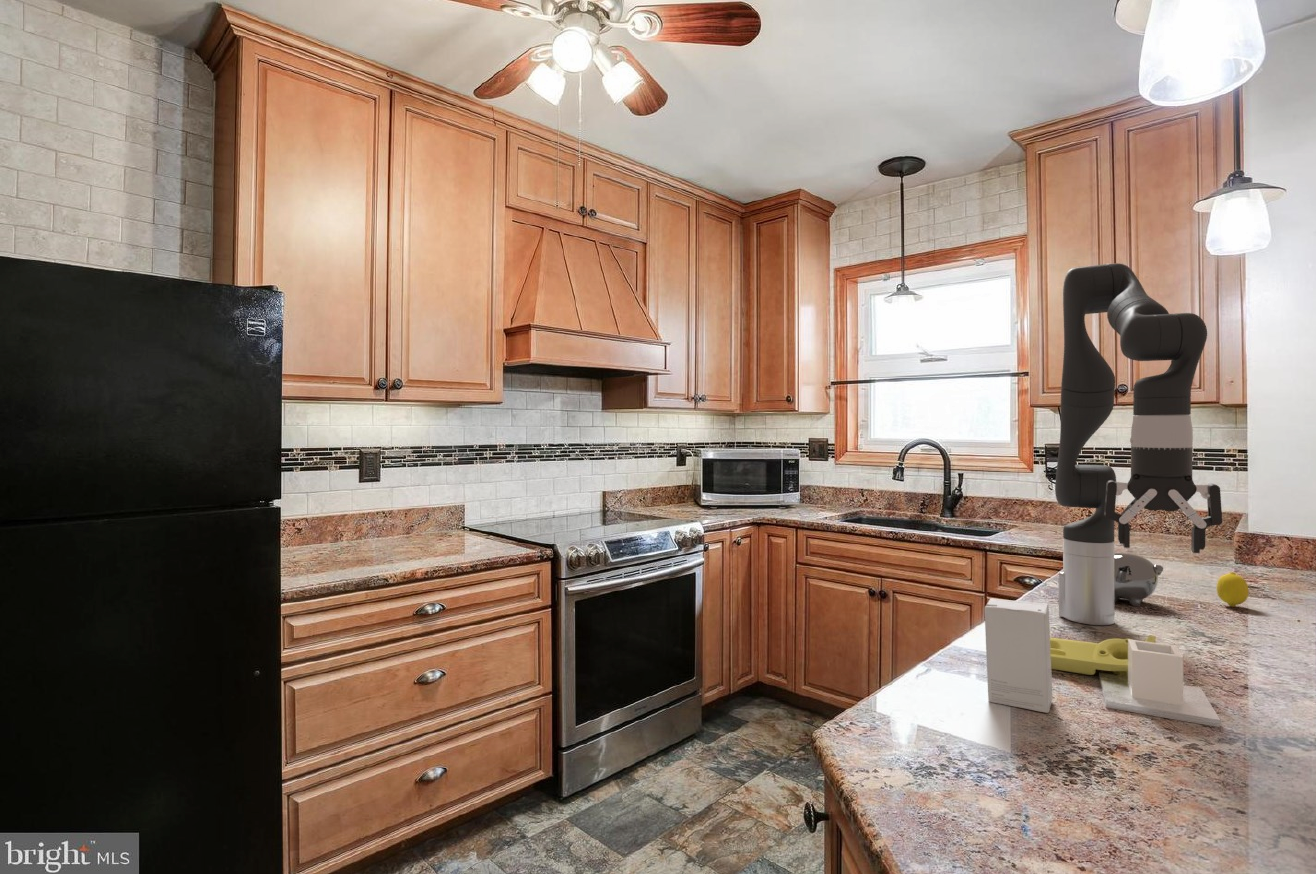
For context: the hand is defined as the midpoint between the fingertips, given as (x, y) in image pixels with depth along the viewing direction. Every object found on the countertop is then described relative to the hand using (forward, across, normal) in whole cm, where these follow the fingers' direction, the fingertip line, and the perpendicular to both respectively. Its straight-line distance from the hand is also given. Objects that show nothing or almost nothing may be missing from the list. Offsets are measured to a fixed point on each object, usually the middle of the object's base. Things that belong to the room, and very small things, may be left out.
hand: (1160, 549), depth 101 cm
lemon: (+24, +21, +70) cm, 77 cm away
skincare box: (+22, -19, -15) cm, 33 cm away
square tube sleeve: (+21, -1, -4) cm, 22 cm away
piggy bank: (+24, 0, +63) cm, 67 cm away
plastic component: (+23, -10, +7) cm, 26 cm away
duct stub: (+22, -1, -4) cm, 23 cm away
